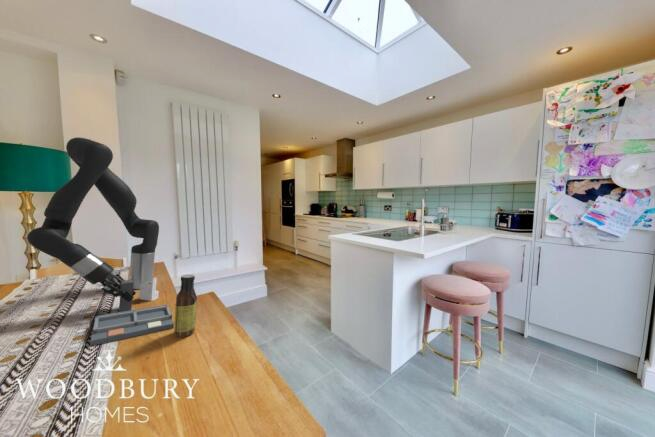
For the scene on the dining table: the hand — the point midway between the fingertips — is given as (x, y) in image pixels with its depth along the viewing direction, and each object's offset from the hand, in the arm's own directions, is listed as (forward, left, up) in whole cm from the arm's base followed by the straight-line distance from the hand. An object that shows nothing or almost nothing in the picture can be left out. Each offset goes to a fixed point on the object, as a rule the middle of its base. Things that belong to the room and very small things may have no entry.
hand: (132, 297), depth 92 cm
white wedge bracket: (-8, +6, -5) cm, 11 cm away
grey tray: (+15, 0, -5) cm, 15 cm away
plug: (0, -2, -5) cm, 5 cm away
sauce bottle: (+29, +13, -5) cm, 32 cm away
